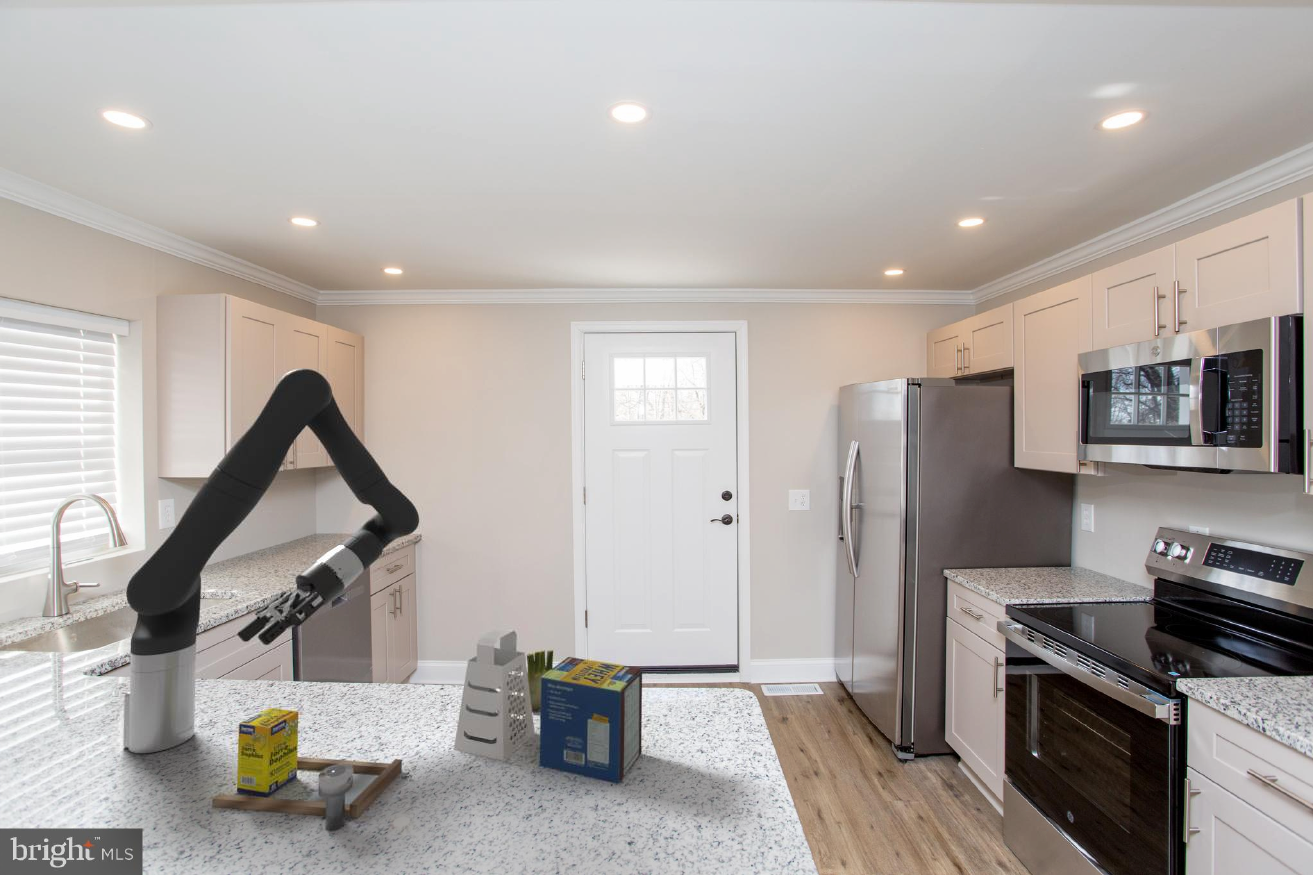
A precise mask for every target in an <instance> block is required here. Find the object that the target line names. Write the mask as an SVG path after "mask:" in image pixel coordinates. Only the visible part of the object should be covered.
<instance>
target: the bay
mask: <svg viewBox="0 0 1313 875" xmlns="http://www.w3.org/2000/svg"><path fill="white" fill-rule="evenodd" d="M337 764H350V765H352V766H353V787H352V788H351V790H349V791H348V792H347V793H345V819H358V818H359V817H360V816H361V815H362V814H363V813H364V812H365V811H366V810H367V809H368V808H369V807H370V806H371V805H372V803H373V802H375V800H377V798H378V797H379V796H380V795H381V794H382V793H383V792H384V791H385V790H386V789H387V788H388V786H390V785H391V783H393V781H395V779H396V778H397V777H398V776H399V775H400V774H401V773H402V772H403V768H402V767H403V760H402V759H400V758H399V759H398V758H395V759H394V760H393V761H391V762H390V763H388V762H373V761H359V760H348V759H347V760H346V759H335V758H321V757H309V756H308V757H305V756H297V769H307V770H319V771H323V770H324V769H326V768H328V767H330V766H333V765H337ZM211 801H212V802H211V803H212V806H211V807H215V808H216V807H217V808H227V809H238V810H240V809H241V810H250V811H251V810H252V811H263V812H273V813H287V814H297V815H308V816H309V815H310V816H320V817H322V816H323V817H326V798H324V797H321V796H319V794H318V790H316V791H315V792H314V793H313V794H312V795H310V796H309V797H308V798H307V799H306V800H301V799H299V800H298V799H288V798H276V797H264V796H253V795H250V796H248V795H241V794H238V795H237V794H226V793H218V794H216V796H214V797H212V799H211Z"/></svg>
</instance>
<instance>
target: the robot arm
mask: <svg viewBox="0 0 1313 875" xmlns="http://www.w3.org/2000/svg"><path fill="white" fill-rule="evenodd" d="M306 427H308V428H309V430H311V432H312V433H313V434H314V435H315V436H316V438H317V439H318V441H319V442H320V443H321V445H322V446H323V448H324V449H325V451H326V452H327V455H328V456H329V458H330V460H331V461H332V463H333V464H334V465H333V466H335V469H336V470H337V471H338V473H339V475H340V476H341V478H342V479H343V481H344V482H345V483H346V485H347V487H348V488H349V489H350V490H351V492H352V493H353V495H354V496H355V498H356V499H357V500H358V501H359V502H360V503H361V504H363V505H368V506H371V507H372V508H373V509H374V510H375V512H376V513H375V514H373V515H372V516H371V517H370V518H369V519H368V520H367V521H366V522H365V523H364V524H363V525H362V526H360V528H359V529H358V530H356V532H353V533H352V534H351V535H350V536H349V537H347V538H346V539H344V540H342V542H340V543H339V544H338V545H337V546H335V547H334V548H332V549H330V550H329V551H327V552H326V553H325V554H323V555H322V556H321V557H319V558H318V559H317V560H315V561H314V562H313V563H312V564H310V565H309V566H308V567H307V568H305V569H303V571H301V572H300V573H299V574H297V575H296V577H295V584H296V589H294V590H293V591H289V592H286V590H284V591H281V592H280V593H279V594H278V595H276V596H275V597H274V598H273V599H272V600H270V601H269V602H267V603H266V604H265V605H263V606H262V607H261V608H259V609H258V610H256V612H255V613H254V615H255V618H254V619H253V620H252V621H250V622H249V623H247V625H245V626H243V628H241V630H239V631H238V632H237V637H239V639H240V640H241V641H242V642H244V643H247V642H250V640H252V639H253V638H254V637H255V636H256V635H258V636H257V638H258V640H259V641H260V642H261V643H262V644H263V645H264V646H269V645H270V644H272V642H274V641H275V640H276V639H277V638H279V637H280V636H281V635H282V634H283V633H285V632H286V631H287V630H291V629H293V627H295V628H297V627H299V626H301V625H302V624H303V623H305V621H307V620H308V619H309V618H310V617H311V616H313V615H314V613H316V612H317V611H318V610H319V609H321V607H323V606H326V605H327V604H329V603H330V602H331V601H333V599H335V598H336V597H337V596H338V595H339V594H340V593H342V592H343V591H344V590H345V589H346V588H348V587H349V586H350V585H351V584H352V583H354V582H355V581H356V579H357V578H358V577H359V576H360V575H361V574H363V572H364V571H366V569H368V568H369V567H370V566H371V565H372V564H373V563H375V562H376V561H377V560H378V559H379V558H380V557H381V555H383V550H384V549H385V548H386V547H388V546H389V545H390V544H391V543H392V542H394V541H395V540H397V539H399V538H402V537H406V536H410V535H411V534H413V533H414V532H415V531H416V530H417V529H418V528H419V524H420V516H419V512H418V510H417V508H416V506H415V505H414V503H413V502H412V501H411V500H410V499H409V498H408V497H407V496H406V495H405V494H404V493H403V492H402V491H401V490H400V489H398V488H397V487H396V486H395V485H394V484H392V483H391V481H390V480H389V479H388V476H386V474H385V472H384V471H383V469H382V468H381V466H380V465H379V464H378V463H377V461H376V460H375V458H374V457H373V455H372V454H371V453H370V451H369V450H368V449H367V448H366V446H365V445H364V443H362V441H361V440H360V439H359V438H358V437H357V435H356V434H355V433H354V430H352V428H351V427H350V426H349V424H348V421H346V419H345V417H344V416H343V414H342V412H341V410H340V408H339V406H338V404H337V400H336V399H335V396H334V395H333V389H332V387H331V385H330V383H329V381H328V380H327V378H325V376H323V374H322V373H320V372H319V371H317V370H314V369H312V368H311V369H310V368H297V369H293V370H290V371H288V372H287V373H285V374H284V375H282V376H281V378H280V379H279V381H278V382H277V384H276V385H275V387H274V389H273V391H272V393H271V394H270V397H269V398H268V400H267V401H266V403H265V405H264V406H263V408H262V409H261V412H260V413H259V414H258V416H257V418H256V419H255V420H254V421H253V423H252V425H251V426H249V428H248V430H246V431H245V433H244V434H243V435H242V436H241V437H240V438H239V439H238V440H237V441H236V442H235V444H234V445H233V446H232V447H230V450H229V451H228V452H227V453H226V454H225V455H224V457H223V458H222V459H221V460H220V462H219V463H218V464H217V465H216V466H215V468H214V469H213V471H211V473H210V474H209V476H208V477H207V479H206V480H205V481H204V483H203V484H202V486H201V487H200V489H199V490H198V492H197V493H196V495H195V496H194V497H193V499H192V500H191V502H190V503H189V505H188V506H187V508H186V510H185V511H184V513H183V515H182V516H181V518H180V520H179V522H178V523H177V525H176V526H175V528H174V529H173V530H172V532H171V533H170V535H169V536H168V537H167V538H166V540H165V541H164V542H163V543H162V544H161V546H159V548H158V549H157V550H156V551H155V552H154V553H153V554H152V555H151V557H150V558H148V560H147V561H146V562H145V563H143V565H142V566H141V567H140V568H139V569H138V570H137V571H136V572H135V573H134V574H133V575H132V577H130V580H129V581H128V584H127V587H126V591H125V593H126V602H127V604H128V605H129V607H130V608H131V609H132V610H133V611H135V612H136V613H137V617H136V619H137V620H136V624H135V627H134V630H133V632H132V635H131V639H130V659H129V660H130V662H129V664H130V667H129V670H130V674H129V676H130V677H129V691H128V692H126V693H125V694H124V696H123V697H124V702H123V703H124V704H123V705H124V706H123V707H124V708H123V748H128V751H129V752H131V753H134V754H150V753H151V754H152V753H155V752H161V751H164V750H169V749H171V748H174V747H177V746H179V745H182V744H183V743H185V742H187V741H188V740H190V739H191V738H192V737H193V736H194V734H195V711H196V707H195V706H196V674H197V673H196V672H197V671H196V668H197V667H196V664H197V663H196V661H197V658H196V657H197V632H198V627H199V623H200V616H201V601H202V600H201V599H202V598H201V596H202V577H201V573H202V571H203V569H204V568H205V566H206V565H207V563H208V561H209V559H210V558H212V556H213V554H214V553H215V552H216V550H217V549H218V548H219V547H220V546H221V544H223V542H224V541H225V540H226V539H227V538H228V537H229V536H230V535H231V534H232V533H234V531H235V530H236V529H238V527H239V526H240V525H241V524H242V523H243V521H244V520H245V519H246V518H247V517H248V516H249V515H250V514H251V512H252V511H253V510H254V509H255V507H256V506H257V505H258V503H259V502H260V500H262V497H263V496H264V495H265V494H266V492H267V491H268V489H269V487H270V486H271V485H272V483H273V481H274V479H275V478H276V477H277V474H278V473H279V470H280V468H281V467H282V465H283V463H284V461H285V458H286V457H287V454H288V451H289V450H290V449H291V446H292V444H293V443H294V442H295V441H296V439H297V438H298V436H299V435H300V434H301V433H302V432H303V431H304V429H305V428H306ZM268 614H269V615H268ZM266 627H267V628H266ZM263 629H264V630H263Z"/></svg>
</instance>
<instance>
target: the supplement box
mask: <svg viewBox="0 0 1313 875" xmlns="http://www.w3.org/2000/svg"><path fill="white" fill-rule="evenodd" d="M298 734H299V711H297V710H292V709H291V710H289V709H282V708H276V707H269V708H267V709H265V710H264V711H262V712H260V713H258V714H256V715H254V716H252V717H250V718H248V719H247V720H243V721H242V722H239V723H238V742H237V743H238V745H237V746H238V747H237V782H236V784H237V785H236V792H237V793H241V794H247V795H251V796H253V795H254V796H257V797H265V798H269V797H270V796H271V795H272V794H273V793H275V792H276V791H277V790H279V789H280V788H282V787H283V786H284V785H286V784H288V783H289V782H291V781H293V780H294V779H296V778H297V776H298V768H297V757H298V752H299V751H298V746H299V744H298V743H299V741H298V740H299V735H298Z"/></svg>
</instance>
